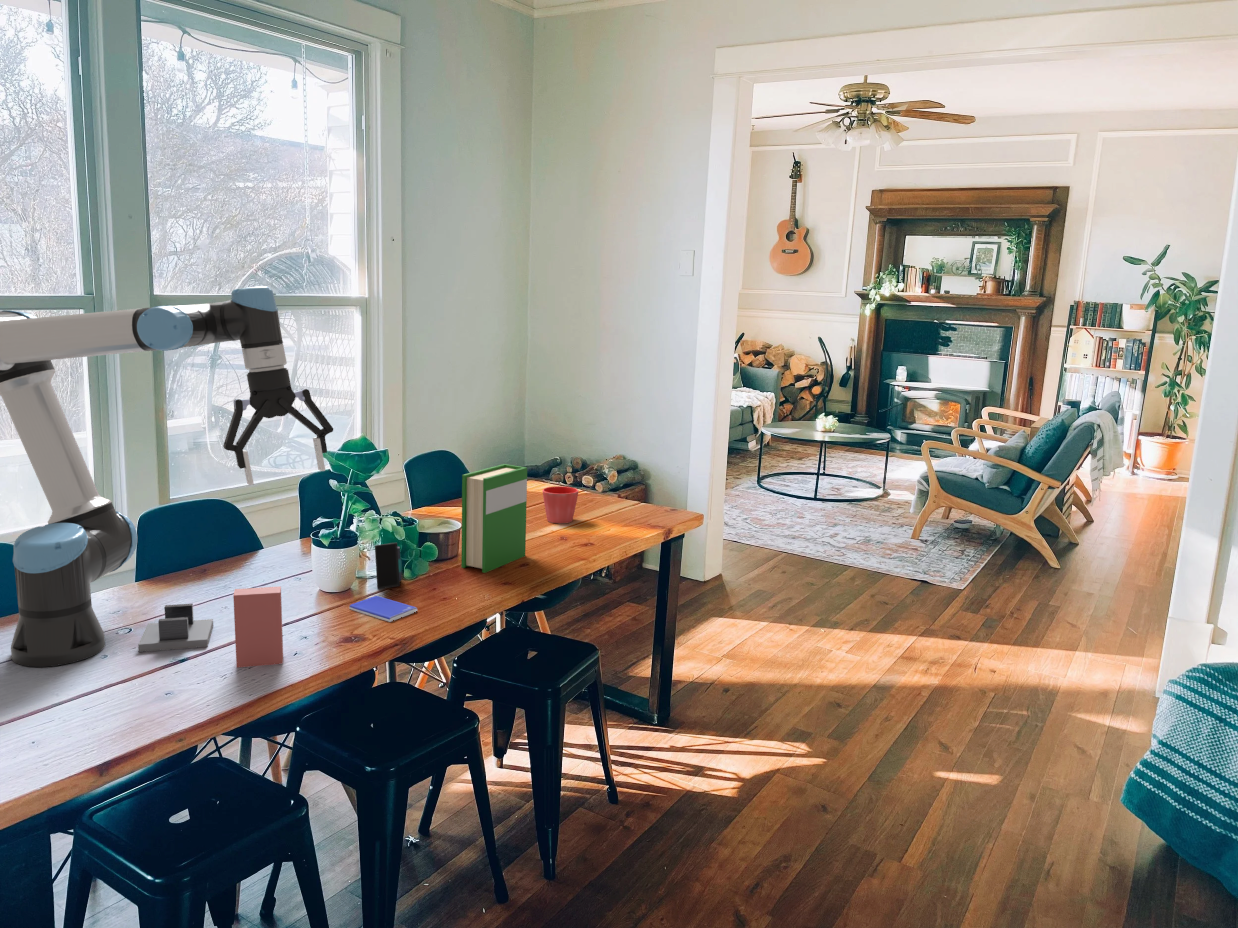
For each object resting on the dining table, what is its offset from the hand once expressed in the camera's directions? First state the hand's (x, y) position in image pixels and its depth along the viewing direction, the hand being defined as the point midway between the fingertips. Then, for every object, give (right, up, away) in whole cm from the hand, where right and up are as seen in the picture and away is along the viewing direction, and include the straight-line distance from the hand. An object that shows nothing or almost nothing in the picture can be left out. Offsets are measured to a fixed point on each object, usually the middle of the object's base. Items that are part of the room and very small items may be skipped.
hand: (286, 477), depth 180 cm
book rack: (-22, -32, +2) cm, 39 cm away
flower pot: (+47, -15, +102) cm, 113 cm away
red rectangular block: (-2, -35, -7) cm, 35 cm away
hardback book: (+33, -23, +59) cm, 71 cm away
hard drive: (+13, -30, +22) cm, 39 cm away
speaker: (+10, -26, +39) cm, 48 cm away
